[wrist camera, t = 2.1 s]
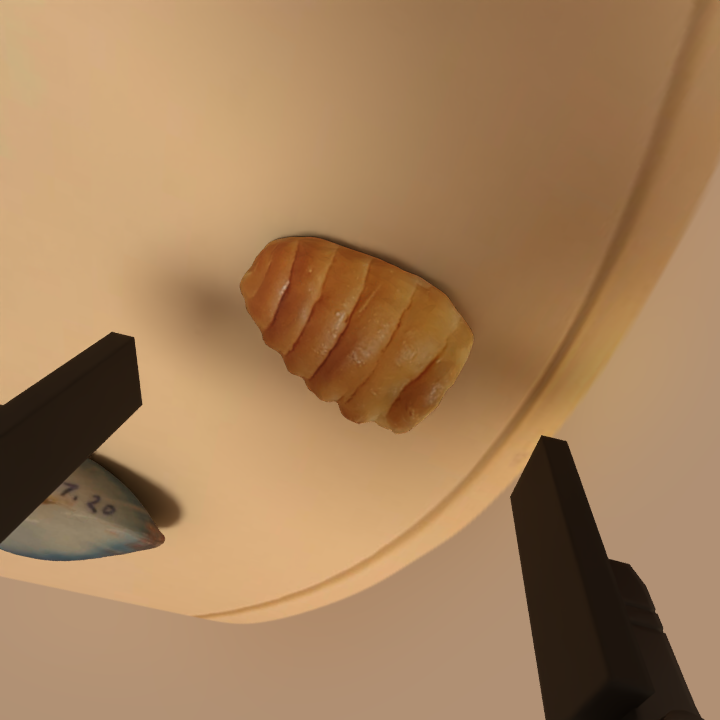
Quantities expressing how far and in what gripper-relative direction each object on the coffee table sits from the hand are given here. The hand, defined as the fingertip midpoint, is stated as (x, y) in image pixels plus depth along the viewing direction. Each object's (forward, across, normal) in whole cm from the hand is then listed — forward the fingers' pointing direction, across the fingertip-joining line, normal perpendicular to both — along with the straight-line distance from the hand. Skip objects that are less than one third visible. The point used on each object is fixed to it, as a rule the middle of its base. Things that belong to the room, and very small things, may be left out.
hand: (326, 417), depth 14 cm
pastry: (+7, 0, 0) cm, 7 cm away
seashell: (+7, -15, -15) cm, 22 cm away
